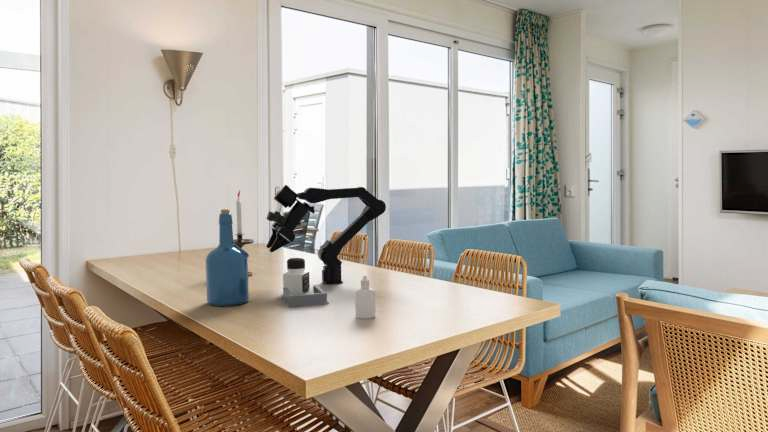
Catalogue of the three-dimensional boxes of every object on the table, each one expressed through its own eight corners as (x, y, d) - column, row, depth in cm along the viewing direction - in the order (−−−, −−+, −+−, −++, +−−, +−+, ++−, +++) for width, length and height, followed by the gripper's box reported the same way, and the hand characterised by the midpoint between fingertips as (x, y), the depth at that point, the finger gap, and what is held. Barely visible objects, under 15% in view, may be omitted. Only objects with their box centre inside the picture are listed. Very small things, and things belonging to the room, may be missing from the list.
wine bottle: (211, 309, 170) (207, 211, 168) (203, 300, 182) (200, 209, 180) (255, 303, 176) (252, 209, 174) (245, 296, 188) (242, 207, 186)
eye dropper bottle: (361, 314, 161) (360, 273, 160) (377, 316, 158) (377, 274, 157) (353, 318, 157) (352, 276, 156) (370, 320, 154) (369, 277, 154)
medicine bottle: (303, 295, 188) (302, 260, 187) (283, 294, 190) (282, 259, 189) (309, 290, 195) (309, 257, 194) (290, 290, 196) (289, 256, 196)
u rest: (281, 298, 184) (281, 287, 184) (318, 294, 188) (318, 284, 188) (288, 307, 171) (288, 296, 170) (328, 303, 175) (328, 293, 175)
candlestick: (260, 274, 228) (257, 189, 226) (240, 279, 219) (237, 190, 217) (241, 272, 234) (238, 189, 232) (221, 276, 225) (218, 190, 223)
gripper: (274, 200, 210) (248, 233, 209) (282, 204, 193) (253, 240, 191) (297, 218, 214) (272, 250, 212) (306, 223, 196) (279, 259, 195)
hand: (268, 249), depth 202 cm, fingers open, 9 cm apart
